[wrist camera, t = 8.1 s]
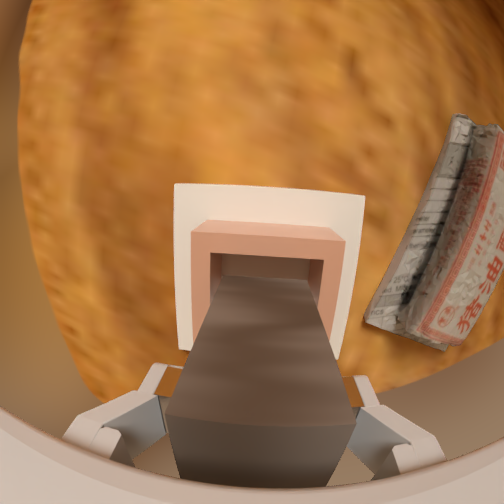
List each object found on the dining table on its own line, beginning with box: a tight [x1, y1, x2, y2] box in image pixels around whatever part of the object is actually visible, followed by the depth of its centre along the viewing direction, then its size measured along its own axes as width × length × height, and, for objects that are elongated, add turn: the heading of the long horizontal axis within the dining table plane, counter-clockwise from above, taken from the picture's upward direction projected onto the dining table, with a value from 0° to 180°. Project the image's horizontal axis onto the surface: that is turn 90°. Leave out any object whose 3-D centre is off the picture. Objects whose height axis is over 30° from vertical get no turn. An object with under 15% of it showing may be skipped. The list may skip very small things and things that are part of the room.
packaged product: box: [364, 113, 504, 352], centre depth 16 cm, size 18×5×10 cm
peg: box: [165, 275, 357, 488], centre depth 10 cm, size 4×4×9 cm
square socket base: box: [174, 183, 365, 359], centre depth 17 cm, size 12×12×5 cm
